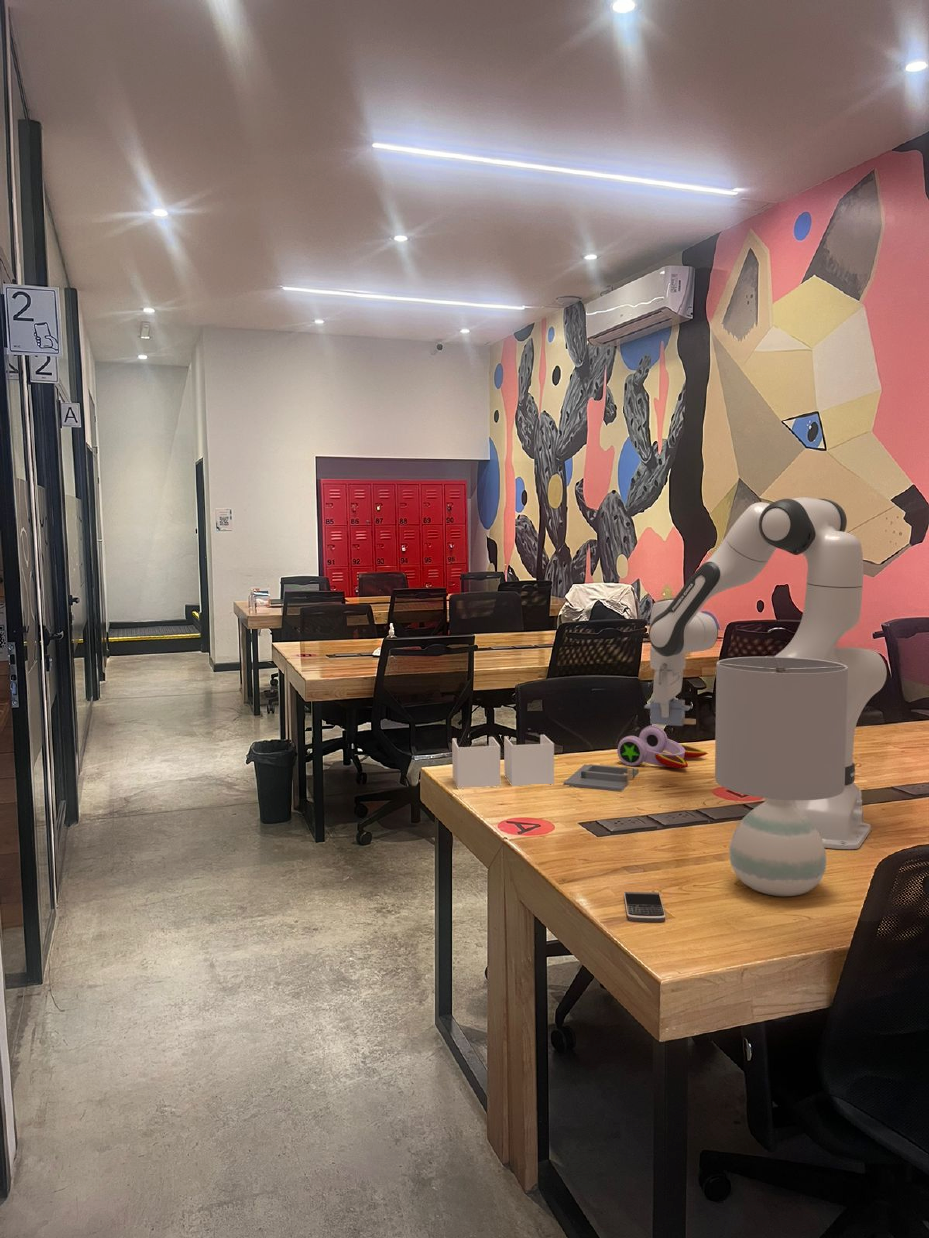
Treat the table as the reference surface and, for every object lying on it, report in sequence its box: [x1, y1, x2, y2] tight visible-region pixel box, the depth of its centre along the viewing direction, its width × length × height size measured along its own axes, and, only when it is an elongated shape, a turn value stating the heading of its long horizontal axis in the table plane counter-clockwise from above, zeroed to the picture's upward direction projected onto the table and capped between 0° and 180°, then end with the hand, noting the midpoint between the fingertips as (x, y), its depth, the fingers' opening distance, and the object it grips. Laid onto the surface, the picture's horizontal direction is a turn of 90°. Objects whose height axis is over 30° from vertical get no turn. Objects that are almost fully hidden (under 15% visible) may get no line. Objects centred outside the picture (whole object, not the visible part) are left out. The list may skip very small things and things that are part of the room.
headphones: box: [616, 725, 709, 769], centre depth 248 cm, size 20×10×20 cm
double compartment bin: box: [451, 734, 555, 788], centre depth 229 cm, size 25×11×11 cm, turn 98°
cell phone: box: [623, 891, 666, 923], centre depth 149 cm, size 6×11×1 cm, turn 173°
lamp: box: [714, 656, 848, 897], centre depth 155 cm, size 22×22×40 cm
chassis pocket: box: [563, 763, 640, 792], centre depth 231 cm, size 20×15×2 cm
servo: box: [643, 698, 697, 727], centre depth 224 cm, size 4×12×7 cm, turn 66°
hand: (667, 715), depth 224 cm, fingers closed on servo, 4 cm apart
